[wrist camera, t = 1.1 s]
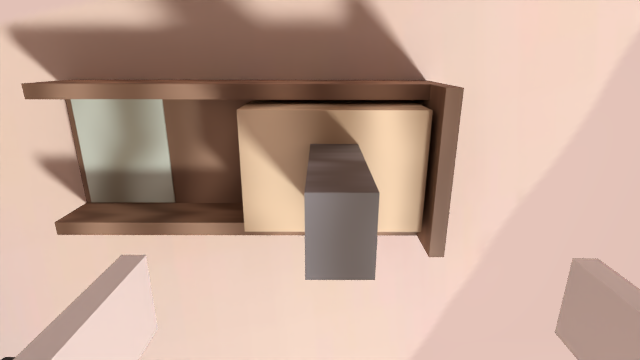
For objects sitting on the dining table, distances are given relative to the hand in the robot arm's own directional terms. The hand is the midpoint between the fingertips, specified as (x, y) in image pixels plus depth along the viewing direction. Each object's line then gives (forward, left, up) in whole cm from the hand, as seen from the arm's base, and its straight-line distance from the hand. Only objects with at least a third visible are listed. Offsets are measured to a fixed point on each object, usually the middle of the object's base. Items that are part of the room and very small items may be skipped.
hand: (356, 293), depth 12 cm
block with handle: (0, 0, -19) cm, 19 cm away
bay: (-7, 0, -20) cm, 21 cm away
